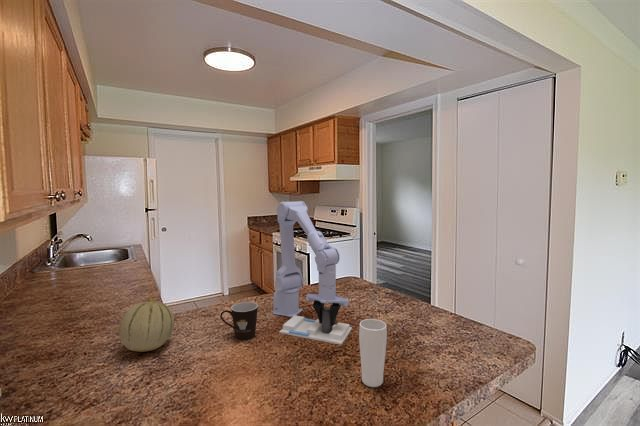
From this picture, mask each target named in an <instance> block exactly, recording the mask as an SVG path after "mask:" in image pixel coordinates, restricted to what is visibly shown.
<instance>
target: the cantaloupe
mask: <svg viewBox="0 0 640 426" xmlns="http://www.w3.org/2000/svg"><path fill="white" fill-rule="evenodd" d="M174 327H175V316H174V313H173V311H172V309H170V307H169V306H168V305H166V304H164V303H163V302H161V301H154V300H153V299H152V298H151V297H148V301H143V302H139V303H136V304H134V305H132V306H131V307H130V308H129V309H127V310H126V312H125V313H124V314H123V316H122V317H121V319H120V322H119V325H118V336H119V337H118V338H119V340H120V342H121V344H123V346H124V347H125V348H126V349H127V350H129V351H131V352H132V351H133V352H139V353H146V352H149V351H150V352H151V351H154V350H157V349H158V348H160V347H162V346H163V345H165V343H166V342H167V341H168V340H169V339H170V337H171V336H172V335H173V332H174Z"/></svg>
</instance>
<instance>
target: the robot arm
mask: <svg viewBox="0 0 640 426" xmlns="http://www.w3.org/2000/svg"><path fill="white" fill-rule="evenodd" d="M308 211H309V208H308V206H307V205H306V202H304V201H303V200H299V201H280V202H279V204H278V205H277V207H276V214H277V223H278V225H279V237H280V238H279V239H280V254H281V255H280V257H281V266H280V268H278V269H277V271H276V272H275V275H276V276H275V280H274V284H275V288H276V290H275V291H274V293H273V298H272V299H273V302H272V303H273V312H272V315H276V316H278V315H279V316H284V317H289V318H292V317H293V316H294V315H296V316H298V314H300V313H302V311H303V308H301V307H300V308H299V306H300V305H299V299H300V298H299V291H300V290H301V287H302V286H303V283H304V278H303V275H302V270H301V268H299V267H298V266H297V265H296V254H295V253H296V251H295V237H294V236H295V235H294V234H295V233H294V225H295V224H296V223H298V224H299V226H300V227H301V229H302V230H303V231H304V233H305V234H306V235H307V238H306V242H307V243H308V245H309V246H310V248H311V250H312V251H313V253H314V255H315V256H314V262H315V264H316V269H317V272H318V293H307V294H306V297H305V300H306V302H313V304H312V308H313V309H314V311H315V313H316V315H317V319H319V324H322V309H323V308H325V304H331V305H329V308H330V311H331V326H334V324H335V325H336V320H337V316H338V313H339V311H340V309H341V306H344V307H348V306H349V302H350V300H349V299H350V298H346V297H345V298H344V297H342V296H337V295H336V293H337V291H336V290H337V287H336V283H337V282H336V281H337V280H336V279H337V277H336V276H337V275H336V274H337V272H336V271H337V264H338V263H339V262H340V253H339V251H338V249H337V248H336V247H333V246H332V245H330V244H329V241H327V239H326V238H325V236H324V234H323V232H322V231H321V230H320V231H319V230H316V228H315V226H314V224H313V222H312V220H311V218H310V216H309V215H308Z"/></svg>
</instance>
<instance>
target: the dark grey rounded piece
mask: <svg viewBox="0 0 640 426" xmlns="http://www.w3.org/2000/svg"><path fill="white" fill-rule="evenodd" d="M332 330H333V326H331V311H330V307H324V308H323V309H322V332H323V333H326V334H329V333H330V332H331V331H332Z"/></svg>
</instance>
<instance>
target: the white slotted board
mask: <svg viewBox="0 0 640 426" xmlns="http://www.w3.org/2000/svg"><path fill="white" fill-rule="evenodd" d="M352 330H353V327H352V326H350V324H349V323H343V322H337V323H335V324H334V326H333V330H332V331H331V332H330V333H329V334H326V333H323V332H322V324H319V319H318V318H317V319H311V318H306V317H305V316H300V315H294V316H293V317H290V319H288V320H287V321H286V322H285V323H284V324H283V325H282V329H281V330H279V334H282V335H283V334H284V335H287V336H288V335H289V336H293V337H298V338H303V339H307V340H308V339H310V340H314V341H318V342H319V341H320V342H326V343H329V344H336V345H343V343H344V342H345V340H346V339H347V337H348V335H349V334H350V333H351V331H352Z"/></svg>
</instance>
